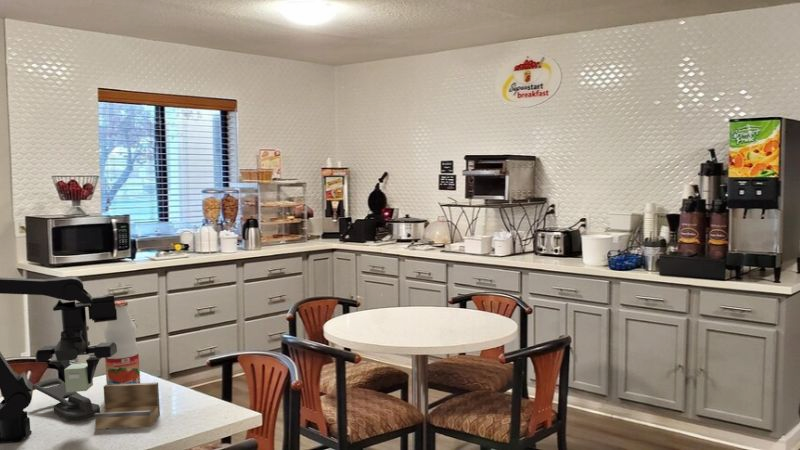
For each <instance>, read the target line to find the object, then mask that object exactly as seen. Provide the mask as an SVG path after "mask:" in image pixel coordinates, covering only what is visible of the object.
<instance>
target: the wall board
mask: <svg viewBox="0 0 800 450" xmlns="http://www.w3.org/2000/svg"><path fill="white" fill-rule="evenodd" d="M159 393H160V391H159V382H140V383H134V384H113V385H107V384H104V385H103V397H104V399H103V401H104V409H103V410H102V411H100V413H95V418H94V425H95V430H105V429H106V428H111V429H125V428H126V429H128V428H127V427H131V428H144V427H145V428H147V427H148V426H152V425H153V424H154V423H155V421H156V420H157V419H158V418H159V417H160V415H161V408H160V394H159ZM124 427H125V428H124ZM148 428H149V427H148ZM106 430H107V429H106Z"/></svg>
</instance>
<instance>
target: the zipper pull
mask: <svg viewBox="0 0 800 450" xmlns="http://www.w3.org/2000/svg"><path fill="white" fill-rule="evenodd" d="M32 389H35V390H37V391H38V392H41V393H42V394H44V395H46V396H48V397H50V398H52V399H54V400H55V401H58V403H56V404H54V405H52V406H53V414H54V415H55V416H57V417H60V418H61V419H62V420H65V422H67V423H79V422H84V421H89V420H91V419H95V413H100V412H101V407H100V405H99V404H96V403H93V402H92V400H91V399H90V398H89V397H86V396H85V395H82V394H80V393H79V392H66V385H65V381H63V380H62V379H61V378H59V377H57V378H51V379H46V380H42V381H39V382H36V383H33V386H32Z"/></svg>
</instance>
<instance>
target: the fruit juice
mask: <svg viewBox="0 0 800 450" xmlns="http://www.w3.org/2000/svg"><path fill="white" fill-rule="evenodd" d="M128 303H129V302H128V300H115V306H116V311H117V320H113V321H107V324H106V325H105V327H104V329H103V336H104V339H105V343H106V342H114V343H115V344H116V346H117V352H116V353H115V354H114V355H112V356H111V357H108V358H104V363H105V379H106V385H113V384H134V383H141V374H140V373H141V372H140V359H139V358H140V355H139V351H140V350H139V345H138V342H137V341H136V338H137V333H138V329H137V325H136V324H135V323H134V321H133V319H132V317H131V315H130V312H129V310H128V305H129V304H128Z"/></svg>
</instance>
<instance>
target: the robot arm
mask: <svg viewBox="0 0 800 450" xmlns="http://www.w3.org/2000/svg"><path fill="white" fill-rule="evenodd" d="M0 294H4V295H5V294H6V295H31V296H32V295H33V296H46V297H50V298H52V299H57V300H58V301H57V303H55V305H53V307H52V310H53V312H55V311H56V312H57V311H60V313H61V323H62V324H61V325H62V331H61V332H60V340H59V341H58V342H57V344H56V345H54V344H53V345H44V346H43V347H41V348H39V349H38V350H37V351H36V352H35V361H36V362H37V363H38V362H39V363H40V362H48V361H49V360H50V361H49V363H48V364H49V365H54V366H56V367H57V368H58V370H59V372H60V374H61V376H62V377H63V379H64V380H65V373H64V369H66V368H67V367H68V366H70V365H71V363H70V361H74V360H76V359H77V358H78V356H84V355H85V356H87V355H88V356H89V357H88V358H87V359H86V360H85V361H86V362H85V363H87V364H88V383H89V384H90V383H91V382H92V379H94V375H95V373H96V370H97V367H98V364H99V363H100V360H101V359H105V358H108V357H111V356H112V355H114V354H115V353H116V352H117V346H116V344H115V343H114V342H106V341H105V342H100V343H98V344H97V345H96V346H91V341H89V338H88V335H89V334H88V331H89V329H90V328H89V325H87V311H86V308H88V320H91V321H93V323H94V324H95V323H97V324H98V323H105V322H108V321H113V320H117V311H116V306H115V301H116V300H115V295H114V294H107V295H103V296H93V297H92V295H91V293H89V292H88V291H87V290H86V289H85V288H84V283H83V280H81V278H79V277H78V276H75V275H67V276H58V277H54V278H53V277H52V278H44V279H43V278H18V277H0ZM76 302H79V303H76ZM33 384H34V383H33V382H31V381H30V380H29V378H28V376H27V374H26V372H25V371H23V372H22V373H20V374H18V373H17V372H16V371H15V370H14V369H13V368H12V367H11V365H10V364H9V363H8V361H7V359H6V358H5V357H4V354H2V352H1V351H0V393H1V396H2V398H3V399H2V400H1V402H0V443H1V444H2V443H17V442H22V441H24V439H26V438H27V437H28V436H29V435H30V434H32V433H33V431H32V430H31V420H30V419H31V418H30V417H28V411H27V410H25V409H27V407H29V406H30V404H31V403H32V399H33V398H32V397H33V394H34V393H33V392H34V391H33V390H34V388H33Z"/></svg>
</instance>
